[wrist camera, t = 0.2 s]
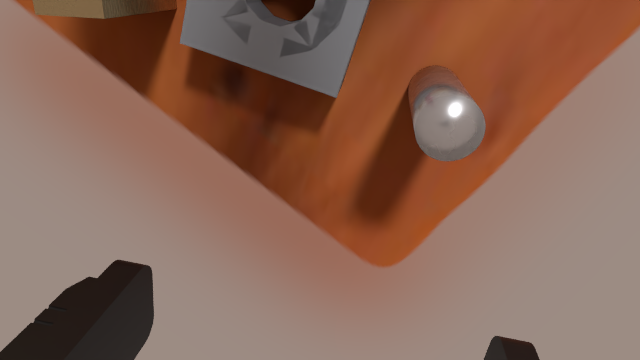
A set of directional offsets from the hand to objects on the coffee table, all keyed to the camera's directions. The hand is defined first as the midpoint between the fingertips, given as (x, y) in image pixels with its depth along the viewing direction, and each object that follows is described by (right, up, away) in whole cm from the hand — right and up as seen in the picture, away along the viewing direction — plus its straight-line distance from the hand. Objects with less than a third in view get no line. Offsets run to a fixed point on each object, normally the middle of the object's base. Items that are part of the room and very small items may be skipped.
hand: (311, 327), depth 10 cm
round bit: (+9, +10, +25) cm, 28 cm away
